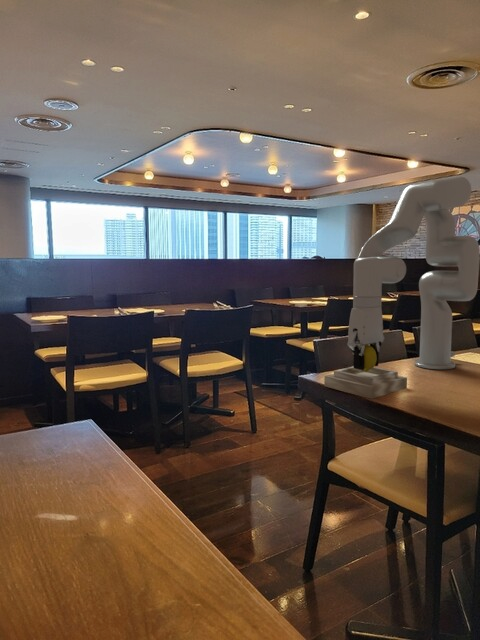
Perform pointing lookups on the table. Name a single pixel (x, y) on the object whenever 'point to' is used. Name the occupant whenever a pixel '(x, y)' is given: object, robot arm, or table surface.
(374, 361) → the lemon
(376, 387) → the stand
